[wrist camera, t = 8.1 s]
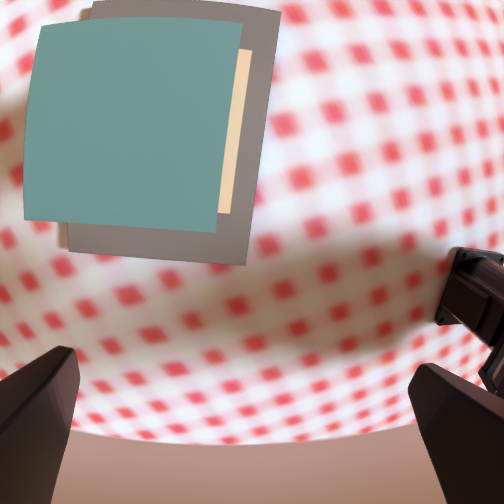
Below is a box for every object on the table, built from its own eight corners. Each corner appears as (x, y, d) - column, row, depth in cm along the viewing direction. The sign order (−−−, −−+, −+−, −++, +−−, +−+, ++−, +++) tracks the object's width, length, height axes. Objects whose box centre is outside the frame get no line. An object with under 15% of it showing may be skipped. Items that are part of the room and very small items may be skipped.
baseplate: (278, 15, 14) (281, 11, 13) (243, 261, 18) (245, 265, 18) (96, 5, 12) (93, 1, 11) (72, 248, 17) (68, 251, 16)
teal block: (225, 71, 12) (243, 23, 6) (209, 190, 13) (215, 232, 8) (105, 66, 11) (41, 26, 5) (93, 182, 12) (24, 220, 7)
